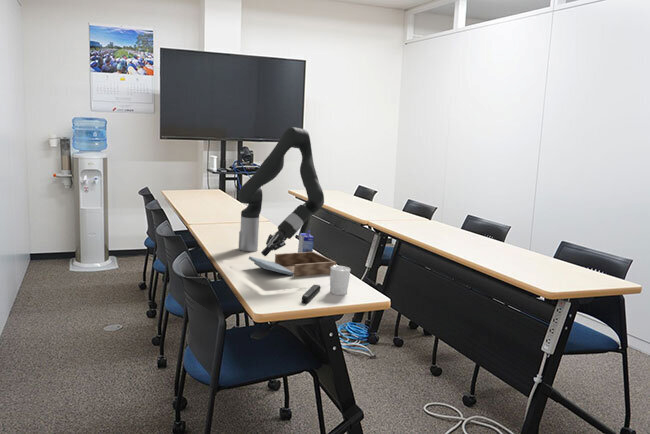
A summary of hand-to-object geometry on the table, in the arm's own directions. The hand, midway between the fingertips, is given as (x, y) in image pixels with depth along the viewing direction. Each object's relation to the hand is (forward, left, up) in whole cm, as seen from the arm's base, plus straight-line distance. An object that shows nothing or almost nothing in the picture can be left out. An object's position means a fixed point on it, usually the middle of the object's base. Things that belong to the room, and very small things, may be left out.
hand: (263, 254), depth 222 cm
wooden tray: (+17, +11, -9) cm, 23 cm away
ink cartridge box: (+15, +35, -9) cm, 40 cm away
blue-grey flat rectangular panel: (+9, +6, -8) cm, 13 cm away
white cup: (+33, -15, -9) cm, 37 cm away
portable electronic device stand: (+23, -23, -10) cm, 34 cm away
